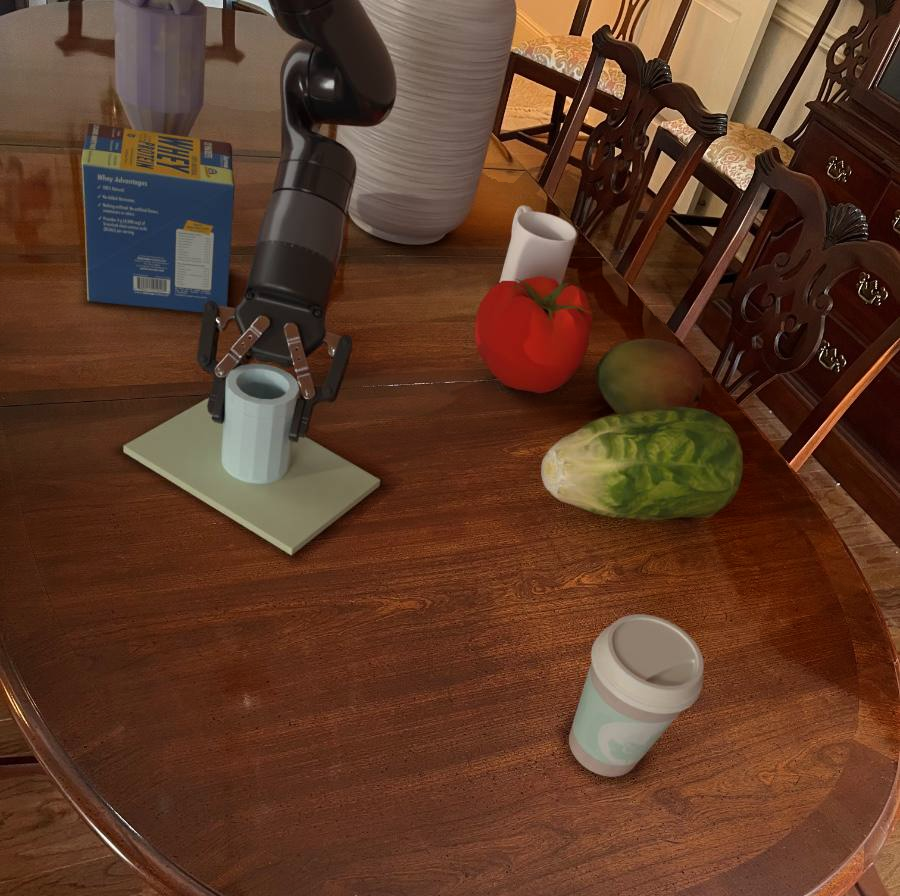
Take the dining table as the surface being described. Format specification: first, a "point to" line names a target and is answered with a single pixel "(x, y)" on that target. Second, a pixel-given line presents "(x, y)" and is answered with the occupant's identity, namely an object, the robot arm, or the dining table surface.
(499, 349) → the tomato
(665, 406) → the fruit
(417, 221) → the vase
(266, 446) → the cylindrical container
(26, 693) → the dining table surface
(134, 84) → the decorative object
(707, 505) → the lettuce
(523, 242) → the mug
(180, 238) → the protein box
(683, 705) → the coffee cup
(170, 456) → the mat
